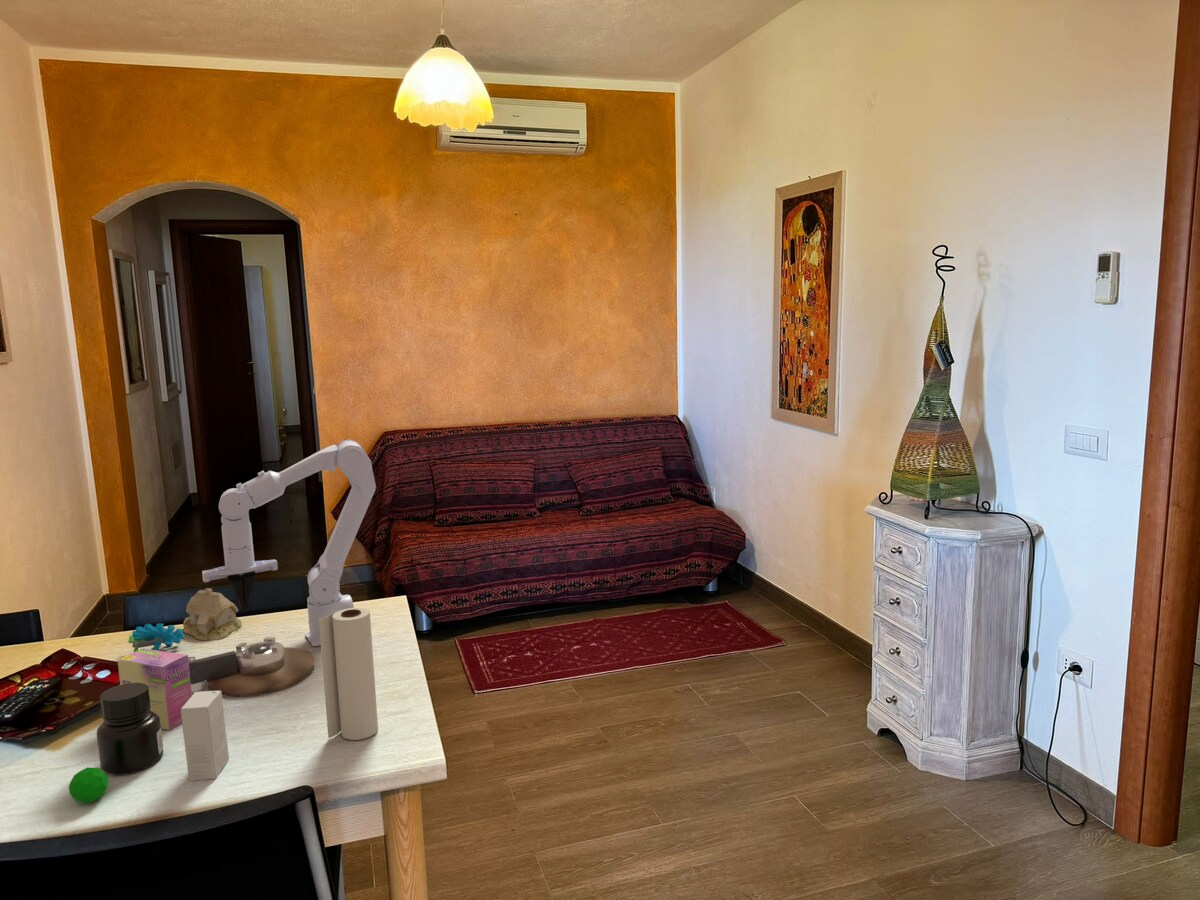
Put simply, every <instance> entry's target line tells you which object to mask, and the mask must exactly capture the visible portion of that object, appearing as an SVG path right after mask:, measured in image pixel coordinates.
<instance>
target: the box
mask: <svg viewBox="0 0 1200 900" xmlns="http://www.w3.org/2000/svg"><path fill="white" fill-rule="evenodd" d="M133 652H134V651H133ZM133 652H132V653H129V654H128V655H125V656H123V657H121V658H118V660H117V665H118V666H117V667H118V674H119V675H118V677H119V685H122V684H128V683H145V684H146V685H148V687H149V696H150V706H151V708H150V710H151V711H152V712H154V713H156V714H157V715H158V716H159V719H160V725H161V730H162V729H163V730H166V731H171V730H173V729H174V728H177V727H178V726H180V725H181V724H182V717H181V708H182V707H183V706H184V705H185V703H186V702H187V701H188V700H189V699H190V698H191V696H192V695H193V694H192V684H191V683H190V671H189V660H188V657H189V655H188V654H182V653H176V652H170V651H164V650H163V651H162V650H159V651H157V650H153V649H150V648H140V649H138V651H136V652H134V653H133Z"/></svg>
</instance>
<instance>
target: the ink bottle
mask: <svg viewBox="0 0 1200 900" xmlns="http://www.w3.org/2000/svg"><path fill="white" fill-rule="evenodd" d="M99 702H100V711H101V718H102V720H103V721H102V723H100V724H99V726H98V728H97V729H96V739H97V741H96V743H97V748H98V756H99V764H100V769H101V770H102V771H103V772H104V773H105V774H111V775H129V774H132V773H136V772H139V771H142V770H144V769H147V768H149V767H151V766H152V765H154V764H156V763H157V762H158V761H159V760H160V759H162V757H163V755H164V742H163V732H162V729H161V725H160V719H159V716H158V715H157V714H156V713H154V712H152V711H151V710H150V708H151V706H150V696H149V687H148V685H146V684H145V683H128V684H122V685H120V684H118V685H115V686H113V687H110V688H109V689H106V690H104V691H103V692H102V693H101V694H100V696H99Z"/></svg>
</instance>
